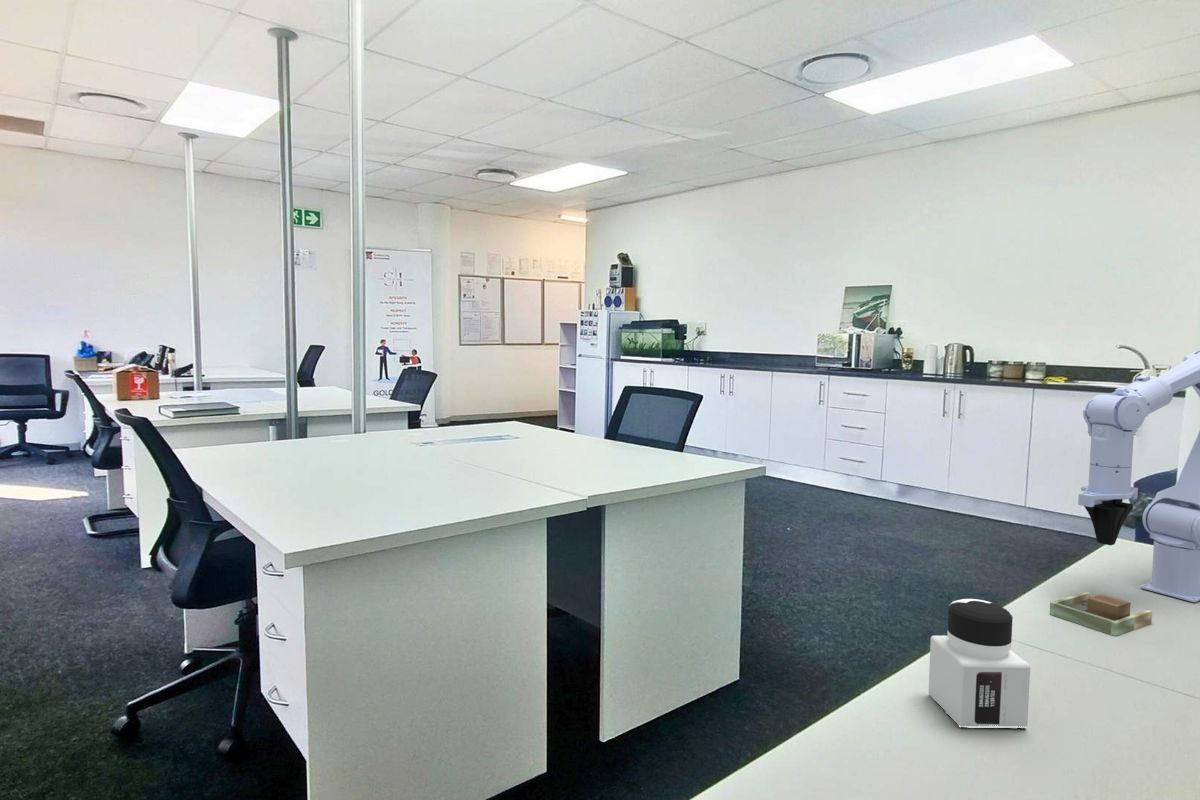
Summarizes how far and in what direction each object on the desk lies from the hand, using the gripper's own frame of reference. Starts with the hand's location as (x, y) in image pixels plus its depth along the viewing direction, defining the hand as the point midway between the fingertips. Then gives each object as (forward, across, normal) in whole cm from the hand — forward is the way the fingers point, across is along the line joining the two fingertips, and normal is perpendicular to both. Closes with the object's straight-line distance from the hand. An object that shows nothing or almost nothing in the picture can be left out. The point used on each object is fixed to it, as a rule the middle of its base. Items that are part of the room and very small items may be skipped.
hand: (1105, 543), depth 114 cm
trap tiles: (+10, +8, +1) cm, 13 cm away
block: (+10, +11, +6) cm, 16 cm away
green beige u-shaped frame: (+10, +10, +4) cm, 15 cm away
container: (+10, +54, +13) cm, 56 cm away
